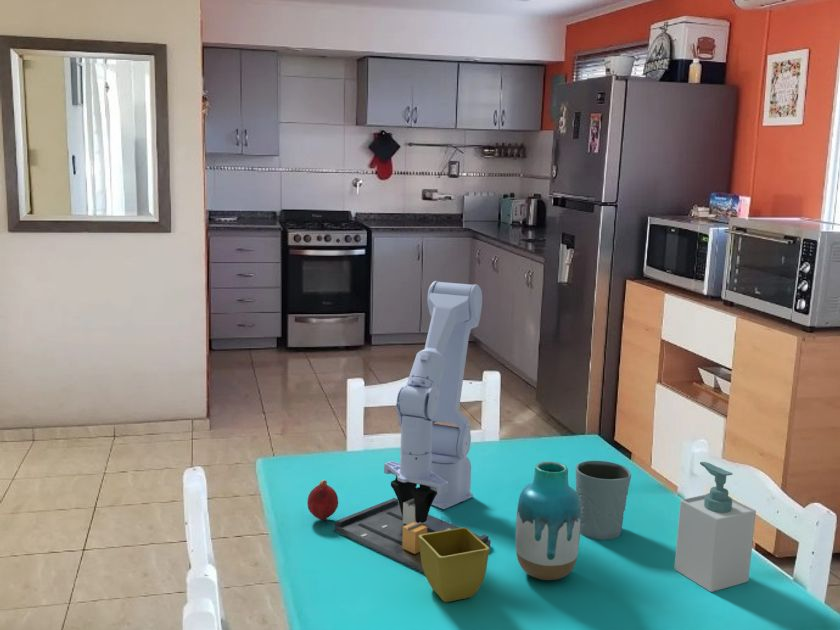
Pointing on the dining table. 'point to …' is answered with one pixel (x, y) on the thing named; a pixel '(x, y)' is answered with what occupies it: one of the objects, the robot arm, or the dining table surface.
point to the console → (389, 531)
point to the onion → (322, 501)
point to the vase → (548, 524)
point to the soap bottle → (715, 537)
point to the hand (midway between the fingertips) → (414, 519)
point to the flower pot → (453, 562)
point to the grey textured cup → (602, 498)
